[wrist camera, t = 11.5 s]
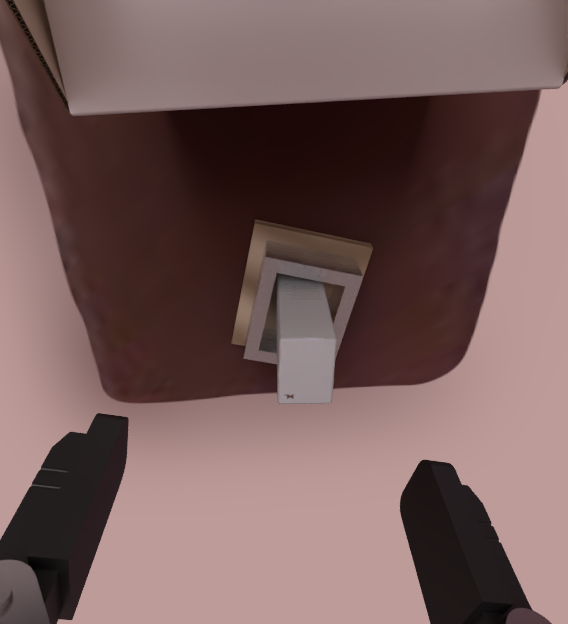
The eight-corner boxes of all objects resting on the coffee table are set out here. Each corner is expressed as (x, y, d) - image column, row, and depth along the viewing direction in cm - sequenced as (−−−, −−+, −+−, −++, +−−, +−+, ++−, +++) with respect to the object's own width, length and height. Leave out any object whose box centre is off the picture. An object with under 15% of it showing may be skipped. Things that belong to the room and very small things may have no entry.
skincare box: (318, 324, 43) (332, 406, 33) (276, 324, 43) (276, 406, 33) (322, 269, 40) (338, 339, 30) (276, 268, 40) (276, 339, 30)
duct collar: (266, 240, 39) (265, 257, 35) (355, 258, 40) (363, 276, 36) (246, 335, 44) (243, 358, 40) (325, 349, 45) (330, 373, 41)
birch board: (255, 219, 39) (254, 223, 38) (370, 243, 40) (373, 248, 39) (232, 337, 45) (231, 343, 44) (333, 355, 47) (334, 361, 46)
